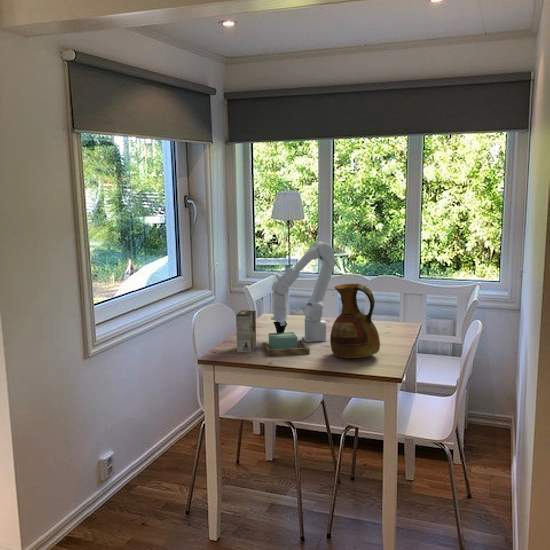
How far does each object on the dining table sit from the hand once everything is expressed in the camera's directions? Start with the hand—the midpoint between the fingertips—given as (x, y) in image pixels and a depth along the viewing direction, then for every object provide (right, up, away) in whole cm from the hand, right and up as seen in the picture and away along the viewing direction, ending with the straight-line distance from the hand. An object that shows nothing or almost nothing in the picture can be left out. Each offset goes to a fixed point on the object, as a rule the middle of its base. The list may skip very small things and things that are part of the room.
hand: (280, 337), depth 263 cm
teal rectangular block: (+1, -3, -5) cm, 6 cm away
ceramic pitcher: (+30, -5, -21) cm, 37 cm away
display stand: (+2, -4, -12) cm, 13 cm away
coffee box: (-14, -4, -11) cm, 18 cm away
